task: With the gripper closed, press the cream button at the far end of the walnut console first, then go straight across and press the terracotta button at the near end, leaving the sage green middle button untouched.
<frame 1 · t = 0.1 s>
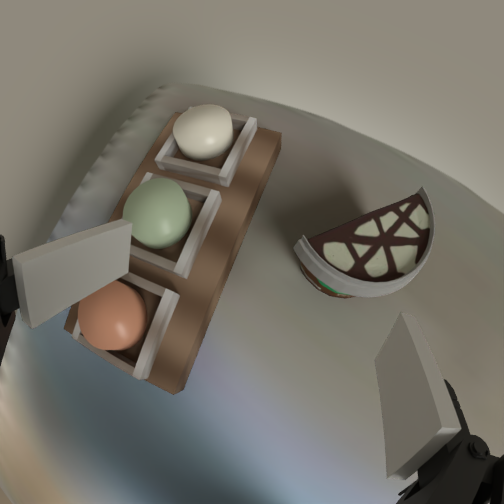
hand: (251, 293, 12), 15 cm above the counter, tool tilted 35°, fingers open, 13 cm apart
cream button: (203, 131, 27), point 6 cm above the counter, slide at 0.0 cm
food container: (353, 278, 28), on the counter
terracotta button: (111, 315, 22), point 6 cm above the counter, slide at 0.0 cm
sage button: (157, 213, 25), point 6 cm above the counter, slide at 0.0 cm
console: (176, 236, 30), on the counter
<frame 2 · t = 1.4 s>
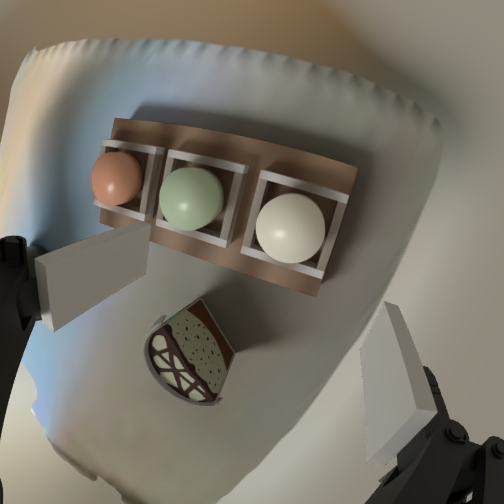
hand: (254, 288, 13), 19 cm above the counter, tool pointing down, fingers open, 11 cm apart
cream button: (291, 227, 26), point 6 cm above the counter, slide at 0.0 cm
food container: (201, 331, 39), on the counter
terracotta button: (115, 178, 29), point 6 cm above the counter, slide at 0.0 cm
sage button: (191, 198, 27), point 6 cm above the counter, slide at 0.0 cm
console: (213, 193, 33), on the counter
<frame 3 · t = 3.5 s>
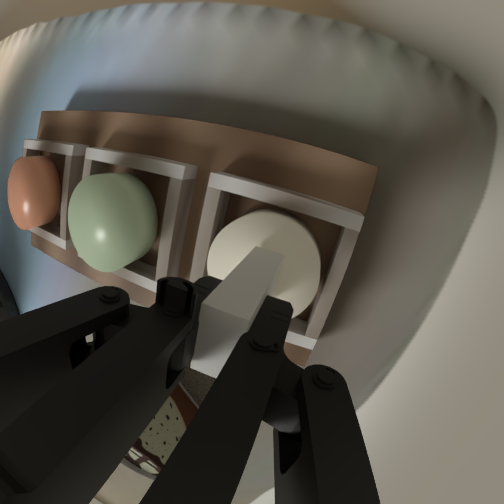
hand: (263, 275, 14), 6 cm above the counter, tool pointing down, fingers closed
cream button: (266, 265, 16), point 5 cm above the counter, slide at 1.2 cm, touching gripper
food container: (160, 382, 28), on the counter
terracotta button: (31, 191, 18), point 6 cm above the counter, slide at 0.0 cm
sage button: (109, 220, 16), point 6 cm above the counter, slide at 0.0 cm
console: (157, 207, 22), on the counter
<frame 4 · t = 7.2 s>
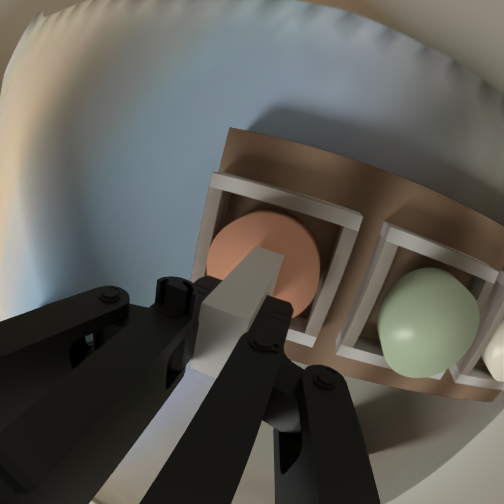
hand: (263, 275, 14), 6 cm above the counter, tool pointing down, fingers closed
terracotta button: (265, 266, 16), point 5 cm above the counter, slide at 0.9 cm, touching gripper
sage button: (428, 324, 13), point 6 cm above the counter, slide at 0.0 cm
console: (405, 285, 19), on the counter
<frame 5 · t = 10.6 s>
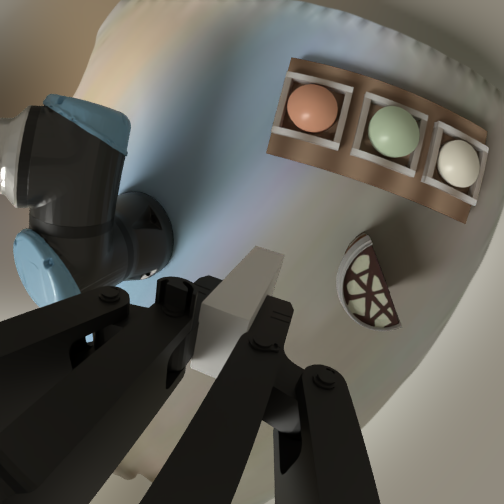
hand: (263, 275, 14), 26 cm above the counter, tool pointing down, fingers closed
cream button: (457, 163, 28), point 4 cm above the counter, slide at 1.5 cm
food container: (357, 268, 40), on the counter
terracotta button: (312, 109, 31), point 4 cm above the counter, slide at 1.5 cm
sage button: (393, 132, 28), point 6 cm above the counter, slide at 0.0 cm
console: (384, 137, 33), on the counter
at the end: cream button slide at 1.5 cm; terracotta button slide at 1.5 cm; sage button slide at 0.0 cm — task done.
